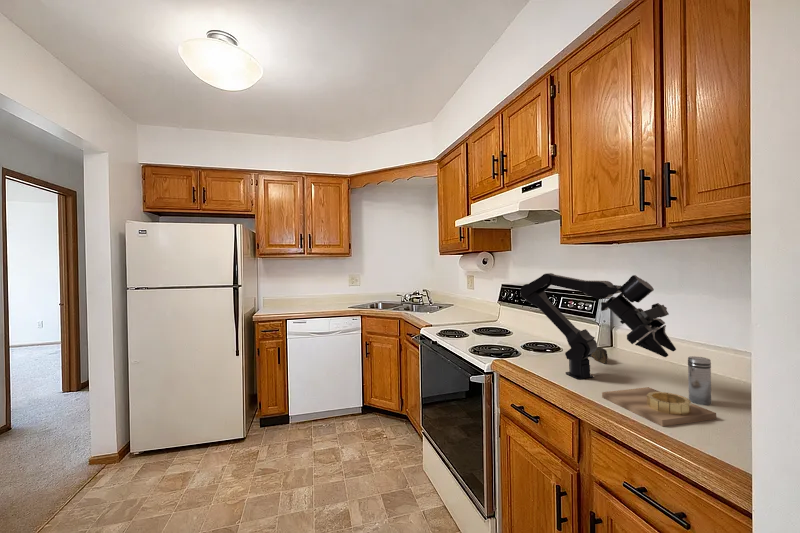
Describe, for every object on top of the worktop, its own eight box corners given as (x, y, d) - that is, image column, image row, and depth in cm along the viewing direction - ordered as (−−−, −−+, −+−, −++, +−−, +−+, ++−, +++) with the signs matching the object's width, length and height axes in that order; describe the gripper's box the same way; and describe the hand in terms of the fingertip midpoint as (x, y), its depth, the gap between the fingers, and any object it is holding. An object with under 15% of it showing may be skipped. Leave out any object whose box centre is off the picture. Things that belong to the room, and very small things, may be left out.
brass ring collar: (639, 402, 95) (639, 393, 95) (666, 399, 97) (666, 390, 97) (670, 416, 86) (670, 406, 86) (699, 412, 88) (699, 402, 88)
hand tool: (575, 350, 158) (574, 338, 158) (586, 350, 158) (586, 338, 158) (597, 365, 136) (596, 350, 136) (610, 365, 135) (610, 350, 135)
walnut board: (602, 397, 103) (602, 392, 103) (648, 392, 106) (648, 387, 106) (662, 426, 85) (662, 420, 85) (716, 419, 88) (716, 412, 88)
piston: (683, 399, 100) (683, 357, 100) (698, 397, 101) (697, 355, 101) (701, 406, 96) (701, 361, 95) (716, 404, 96) (715, 360, 96)
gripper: (638, 297, 101) (688, 342, 93) (656, 292, 113) (702, 331, 105) (608, 322, 107) (653, 366, 99) (628, 315, 119) (670, 353, 111)
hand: (671, 353), depth 103 cm, fingers open, 9 cm apart
